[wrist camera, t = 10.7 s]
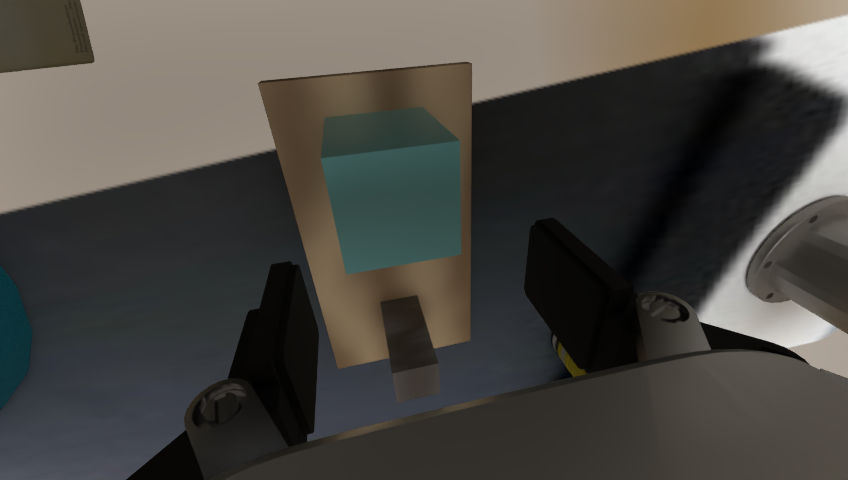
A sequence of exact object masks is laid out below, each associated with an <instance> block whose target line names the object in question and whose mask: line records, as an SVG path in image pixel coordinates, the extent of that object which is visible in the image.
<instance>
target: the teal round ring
mask: <svg viewBox="0 0 848 480" xmlns="http://www.w3.org/2000/svg"><path fill="white" fill-rule="evenodd" d="M31 341H32V330H31V327H30V324H29V321H28V318H27V315H26V312H25V309H24V307H23V304H22V301H21V298H20V295H19V292H18V289H17V286H16V285H15V284H14V283H13V281H12V280H11V279H10V277H9V276H8V275H7V273H6V272H5V271H4V269H3V268H2V267H1V265H0V410H1V408H2V407H3V406H4V405H5V404H6V403H7V401H8V400H9V398H10V397H11V395H12V394H13V392H14V391H15V389H16V388H17V387H18V385H19V384H20V382H21V381H22V379H23V378H24V376H25V375H26V373H27V372H28V367H29V358H30V350H31Z"/></svg>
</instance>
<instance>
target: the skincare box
mask: <svg viewBox="0 0 848 480" xmlns="http://www.w3.org/2000/svg"><path fill="white" fill-rule="evenodd" d="M93 62H94V55H93V51H92V47H91V44H90V39H89V35H88V31H87V26H86V23H85V18H84V14H83V11H82V6H81V3H80V0H0V73H4V72H13V71H22V70H31V69H40V68H49V67H60V66H68V65H77V64H86V63H93Z"/></svg>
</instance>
